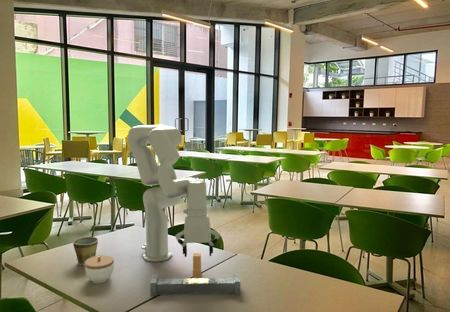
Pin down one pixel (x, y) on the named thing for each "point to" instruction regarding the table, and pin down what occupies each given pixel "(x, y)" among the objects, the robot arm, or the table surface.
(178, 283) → the rail
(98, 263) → the lidded jar
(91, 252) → the ceramic cup
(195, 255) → the clip
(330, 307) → the table surface
